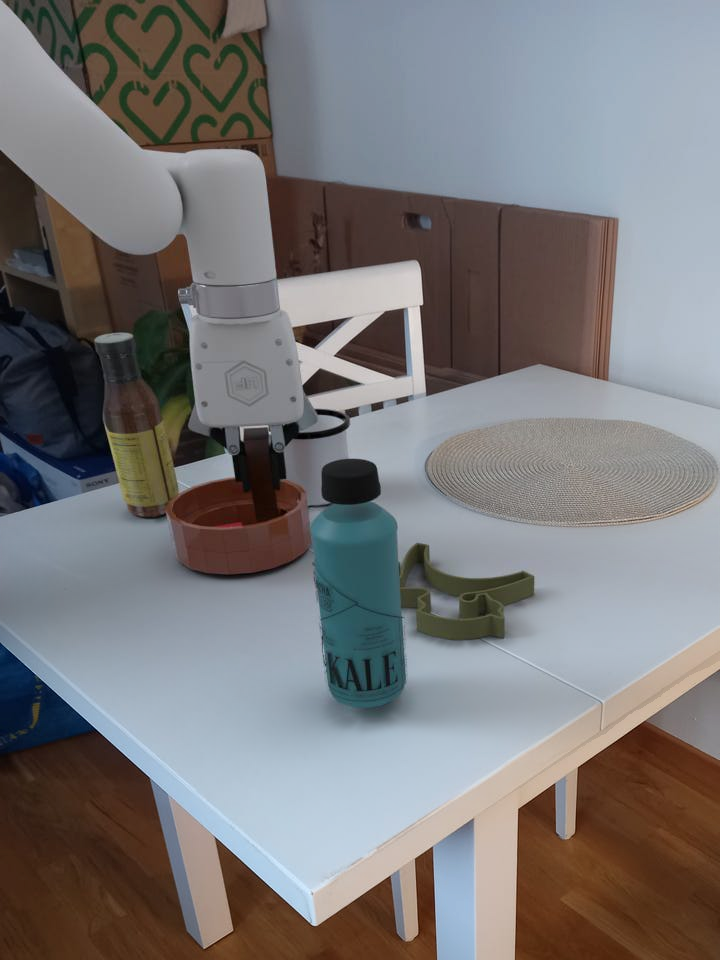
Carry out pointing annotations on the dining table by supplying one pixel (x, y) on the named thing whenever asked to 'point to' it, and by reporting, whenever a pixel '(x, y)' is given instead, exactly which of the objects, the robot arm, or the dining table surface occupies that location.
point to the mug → (316, 452)
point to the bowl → (236, 528)
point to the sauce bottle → (135, 429)
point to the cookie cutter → (462, 599)
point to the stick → (260, 474)
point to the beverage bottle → (358, 587)
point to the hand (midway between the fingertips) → (262, 485)
